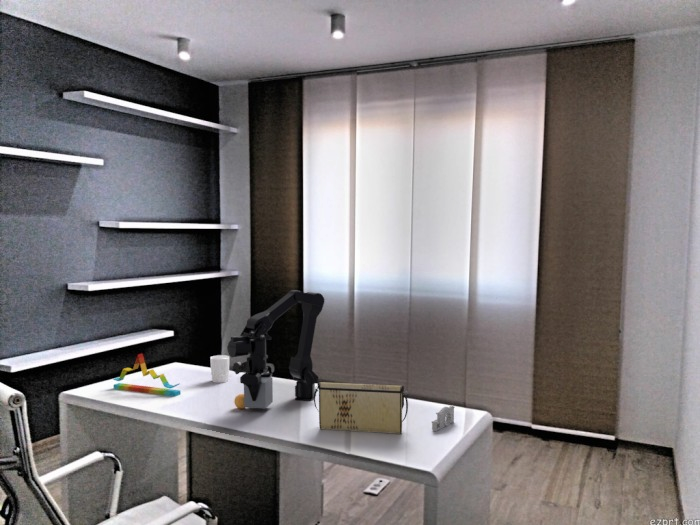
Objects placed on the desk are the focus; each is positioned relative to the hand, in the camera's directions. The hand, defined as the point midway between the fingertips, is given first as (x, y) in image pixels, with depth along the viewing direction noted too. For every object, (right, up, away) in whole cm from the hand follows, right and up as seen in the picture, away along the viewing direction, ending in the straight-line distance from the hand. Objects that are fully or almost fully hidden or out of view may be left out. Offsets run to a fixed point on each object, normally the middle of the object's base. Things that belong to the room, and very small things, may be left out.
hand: (258, 397), depth 199 cm
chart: (-48, -4, +24) cm, 53 cm away
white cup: (-22, -3, +40) cm, 45 cm away
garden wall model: (+62, -5, -18) cm, 64 cm away
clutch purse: (+35, -5, -20) cm, 41 cm away
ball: (-6, -2, +2) cm, 6 cm away
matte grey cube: (0, -2, 0) cm, 2 cm away
